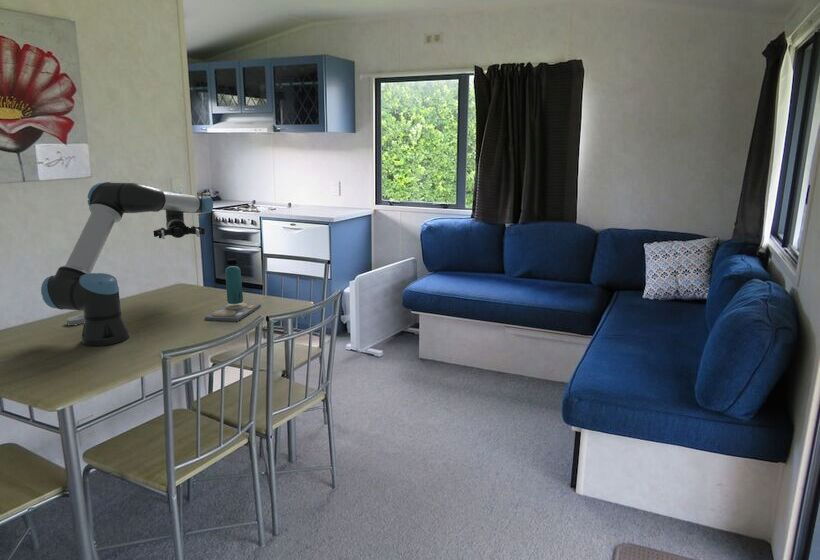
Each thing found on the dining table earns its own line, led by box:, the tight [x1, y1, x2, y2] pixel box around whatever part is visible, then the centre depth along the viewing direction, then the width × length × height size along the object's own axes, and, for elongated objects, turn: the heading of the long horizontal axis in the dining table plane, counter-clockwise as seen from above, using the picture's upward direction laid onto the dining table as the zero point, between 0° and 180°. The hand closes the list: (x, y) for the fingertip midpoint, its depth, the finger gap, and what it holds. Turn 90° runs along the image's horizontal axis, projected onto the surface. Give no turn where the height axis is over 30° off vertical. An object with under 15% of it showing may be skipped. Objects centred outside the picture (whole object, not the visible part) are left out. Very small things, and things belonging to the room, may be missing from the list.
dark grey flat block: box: [204, 302, 262, 322], centre depth 245 cm, size 22×14×2 cm, turn 170°
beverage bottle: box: [224, 258, 244, 304], centre depth 248 cm, size 6×7×20 cm
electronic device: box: [66, 312, 85, 326], centre depth 234 cm, size 5×10×15 cm
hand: (181, 234), depth 245 cm, fingers open, 13 cm apart
